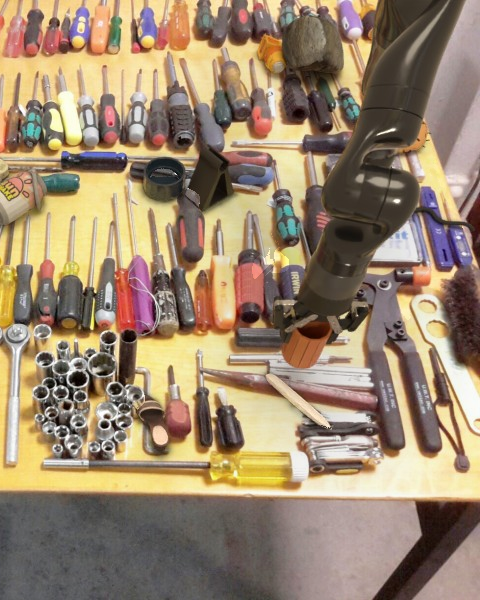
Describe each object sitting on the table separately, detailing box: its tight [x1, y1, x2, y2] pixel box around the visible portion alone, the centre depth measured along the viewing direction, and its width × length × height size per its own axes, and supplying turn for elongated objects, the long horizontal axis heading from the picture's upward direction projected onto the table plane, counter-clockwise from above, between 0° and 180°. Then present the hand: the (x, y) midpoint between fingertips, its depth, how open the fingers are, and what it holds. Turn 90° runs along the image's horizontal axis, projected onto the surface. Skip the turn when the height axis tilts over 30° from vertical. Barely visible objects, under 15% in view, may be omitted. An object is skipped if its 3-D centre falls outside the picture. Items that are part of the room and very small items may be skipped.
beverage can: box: [0, 167, 48, 226], centre depth 136 cm, size 9×8×12 cm
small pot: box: [281, 321, 333, 370], centre depth 102 cm, size 6×6×9 cm
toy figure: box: [256, 34, 287, 74], centre depth 160 cm, size 5×6×12 cm
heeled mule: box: [136, 393, 170, 453], centre depth 106 cm, size 4×11×4 cm, turn 13°
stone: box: [281, 14, 345, 74], centre depth 155 cm, size 12×15×15 cm
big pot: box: [142, 156, 187, 202], centre depth 138 cm, size 9×9×5 cm
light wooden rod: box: [265, 373, 331, 429], centre depth 108 cm, size 2×14×2 cm, turn 39°
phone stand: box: [186, 143, 235, 212], centre depth 133 cm, size 9×6×12 cm, turn 123°
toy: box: [397, 120, 432, 154], centre depth 141 cm, size 12×10×5 cm
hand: (306, 339), depth 102 cm, fingers closed on small pot, 6 cm apart
